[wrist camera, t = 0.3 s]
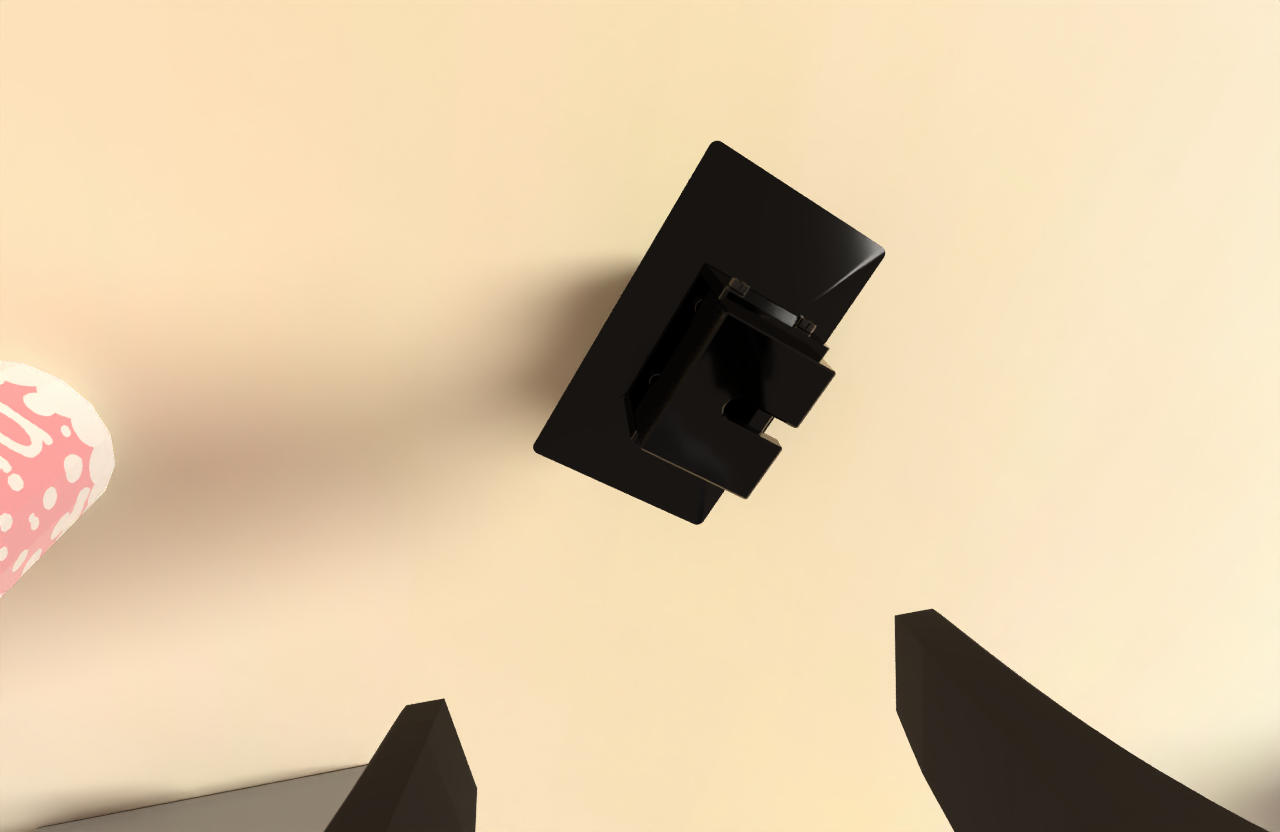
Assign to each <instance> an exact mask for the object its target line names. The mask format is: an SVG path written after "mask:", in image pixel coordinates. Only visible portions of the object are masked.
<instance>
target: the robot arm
mask: <svg viewBox="0 0 1280 832" xmlns="http://www.w3.org/2000/svg"><path fill="white" fill-rule="evenodd" d="M895 662H896V711H897V714H898V716H899V719H900V721H901V724H902V726H903V728H904V731H905V733H906V736H907V738H908V741H909V743H910V746H911V748H912V750H913V753H914V755H915V757H916V759H917V762H918V764H919V766H920V769H921V771H922V773H923V775H924V777H925V779H926V781H927V783H928V785H929V786H930V788H931V790H932V792H933V794H934V796H935V797H936V799H937V801H938V803H939V805H940V806H941V808H942V810H943V812H944V814H945V815H946V817H947V819H948V821H949V823H950V825H951V826H952V828H953V830H954V832H1269V831H1267V830H1265V829H1263V828H1261V827H1259V826H1257V825H1255V824H1253V823H1251V822H1249V821H1247V820H1245V819H1244V818H1242V817H1240V816H1238V815H1236V814H1234V813H1232V812H1231V811H1229V810H1227V809H1225V808H1223V807H1221V806H1220V805H1218V804H1216V803H1214V802H1212V801H1211V800H1209V799H1207V798H1205V797H1204V796H1202V795H1200V794H1198V793H1197V792H1195V791H1193V790H1192V789H1190V788H1188V787H1186V786H1185V785H1183V784H1181V783H1180V782H1178V781H1176V780H1174V779H1173V778H1171V777H1169V776H1167V775H1166V774H1164V773H1162V772H1161V771H1159V770H1157V769H1156V768H1154V767H1152V766H1151V765H1149V764H1147V763H1146V762H1144V761H1143V760H1141V759H1139V758H1138V757H1136V756H1134V755H1133V754H1131V753H1130V752H1128V751H1127V750H1125V749H1124V748H1122V747H1120V746H1119V745H1117V744H1116V743H1114V742H1113V741H1111V740H1110V739H1108V738H1107V737H1105V736H1104V735H1102V734H1101V733H1099V732H1098V731H1096V730H1095V729H1093V728H1092V727H1090V726H1089V725H1087V724H1086V723H1085V722H1083V721H1082V720H1080V719H1079V718H1077V717H1076V716H1074V715H1073V714H1072V713H1070V712H1069V711H1067V710H1066V709H1064V708H1063V707H1062V706H1060V705H1059V704H1058V703H1056V702H1055V701H1053V700H1052V699H1051V698H1049V697H1048V696H1047V695H1045V694H1044V693H1042V692H1041V691H1040V690H1038V689H1037V688H1035V687H1034V686H1033V685H1031V684H1030V683H1029V682H1027V681H1026V680H1025V679H1023V678H1022V677H1021V676H1019V675H1018V674H1017V673H1015V672H1014V671H1013V670H1011V669H1010V668H1009V667H1007V666H1006V665H1005V664H1003V663H1002V662H1001V661H1000V660H998V659H997V658H996V657H994V656H993V655H992V654H990V653H989V652H988V651H987V650H985V649H984V648H983V647H981V646H980V645H979V644H978V643H976V642H975V641H974V640H973V639H971V638H970V637H969V636H967V635H966V634H965V633H964V632H962V631H961V630H960V629H959V628H957V627H956V626H955V625H954V624H952V623H951V622H950V621H948V620H947V619H946V618H945V617H943V616H942V615H941V614H939V613H938V612H937V611H935V610H934V609H928V610H923V611H917V612H912V613H906V614H901V615H895ZM476 801H477V787H476V784H475V782H474V779H473V776H472V773H471V771H470V768H469V765H468V762H467V760H466V757H465V754H464V751H463V749H462V746H461V743H460V740H459V738H458V735H457V732H456V729H455V727H454V724H453V721H452V718H451V716H450V713H449V710H448V707H447V705H446V702H445V699H439V700H433V701H428V702H422V703H417V704H411V705H406V706H405V708H404V709H403V710H402V712H401V713H400V715H399V716H398V718H397V719H396V721H395V722H394V724H393V725H392V727H391V729H390V730H389V732H388V733H387V735H386V737H385V738H384V740H383V741H382V743H381V744H380V746H379V748H378V749H377V751H376V752H375V754H374V756H373V757H372V759H371V760H370V762H369V763H368V765H367V767H366V768H365V770H364V771H363V773H362V774H361V776H360V777H359V779H358V781H357V782H356V784H355V785H354V787H353V788H352V790H351V791H350V793H349V794H348V796H347V797H346V799H345V800H344V802H343V803H342V805H341V806H340V808H339V809H338V811H337V812H336V814H335V815H334V817H333V818H332V820H331V821H330V823H329V824H328V826H327V827H326V829H325V830H324V832H475V825H476Z"/></svg>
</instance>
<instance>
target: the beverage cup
mask: <svg viewBox="0 0 1280 832" xmlns="http://www.w3.org/2000/svg"><path fill="white" fill-rule="evenodd" d="M114 467H115V460H114V454H113V447H112V441H111V435H110V433H109V431H108V430H107V428H106V427H105V425H104V423H103V422H102V420H101V419H100V417H99V416H98V414H97V412H96V411H95V409H94V408H93V406H92V404H90V403H89V402H88V401H87V400H85V399H84V398H83V397H82V396H81V395H79V394H78V393H77V392H76V391H74V390H73V389H72V388H71V387H70V386H68V385H67V384H66V383H65V382H64V381H62V380H61V379H59V378H57V377H55V376H52V375H50V374H47V373H45V372H43V371H40V370H38V369H36V368H33V367H31V366H29V365H26V364H24V363H20V362H10V361H1V360H0V598H1V597H2V596H3V595H4V594H5V593H6V592H7V591H8V589H9V588H10V587H11V586H12V585H13V584H14V583H15V582H16V581H17V580H18V579H19V578H20V577H21V576H22V575H23V574H24V573H25V572H26V571H27V570H28V569H29V568H30V567H31V566H32V565H33V564H34V563H35V562H36V561H37V560H38V559H39V558H40V557H41V556H42V555H43V554H44V553H45V552H46V551H47V550H48V549H49V548H50V547H51V546H52V545H53V544H54V543H55V542H56V541H57V540H58V539H59V538H60V537H61V535H62V534H63V533H64V532H65V531H66V530H67V529H68V528H69V527H70V526H71V525H72V524H73V523H74V522H75V521H76V520H77V519H78V518H79V517H80V516H81V515H82V514H83V513H84V512H85V511H86V510H87V509H88V508H89V507H90V506H91V505H92V504H93V503H94V502H95V501H96V500H97V499H98V498H99V497H100V496H101V495H102V494H103V493H104V492H105V491H106V488H107V486H108V483H109V480H110V478H111V475H112V472H113V469H114Z"/></svg>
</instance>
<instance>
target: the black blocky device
mask: <svg viewBox="0 0 1280 832" xmlns="http://www.w3.org/2000/svg"><path fill="white" fill-rule="evenodd" d="M884 256H885V250H884V248H883V247H882V246H880V245H878V244H877V243H875V242H874V241H872V240H871V239H869V238H868V237H866V236H865V235H863V234H862V233H860V232H859V231H857V230H855V229H854V228H852V227H851V226H849V225H848V224H846V223H845V222H843V221H842V220H840V219H839V218H837V217H836V216H834V215H833V214H831V213H829V212H828V211H826V210H825V209H823V208H822V207H820V206H819V205H817V204H816V203H814V202H813V201H811V200H810V199H808V198H807V197H805V196H803V195H802V194H800V193H799V192H797V191H796V190H794V189H793V188H791V187H790V186H788V185H787V184H785V183H784V182H782V181H781V180H779V179H777V178H776V177H774V176H773V175H771V174H770V173H768V172H767V171H765V170H764V169H762V168H761V167H759V166H758V165H756V164H754V163H753V162H751V161H750V160H748V159H747V158H745V157H744V156H742V155H741V154H739V153H738V152H736V151H735V150H733V149H732V148H730V147H728V146H727V145H725V144H724V143H722V142H721V141H714V142H712V143H711V144H710V145H709V147H708V149H707V151H706V152H705V154H704V156H703V157H702V159H701V161H700V162H699V164H698V166H697V168H696V169H695V171H694V173H693V174H692V176H691V178H690V179H689V181H688V183H687V185H686V186H685V188H684V190H683V191H682V193H681V195H680V197H679V198H678V200H677V202H676V203H675V205H674V207H673V208H672V210H671V212H670V214H669V215H668V217H667V219H666V220H665V222H664V224H663V225H662V227H661V229H660V231H659V232H658V234H657V236H656V237H655V239H654V241H653V242H652V244H651V246H650V248H649V249H648V251H647V253H646V254H645V256H644V258H643V259H642V261H641V263H640V265H639V266H638V268H637V270H636V271H635V273H634V275H633V276H632V278H631V280H630V282H629V283H628V285H627V287H626V288H625V290H624V292H623V294H622V295H621V297H620V299H619V300H618V302H617V304H616V305H615V307H614V309H613V311H612V312H611V314H610V316H609V317H608V319H607V321H606V322H605V324H604V326H603V328H602V329H601V331H600V333H599V334H598V336H597V338H596V339H595V341H594V343H593V345H592V346H591V348H590V350H589V351H588V353H587V355H586V356H585V358H584V360H583V362H582V363H581V365H580V367H579V368H578V370H577V372H576V373H575V375H574V377H573V379H572V380H571V382H570V384H569V385H568V387H567V389H566V391H565V392H564V394H563V396H562V397H561V399H560V401H559V402H558V404H557V406H556V408H555V409H554V411H553V413H552V414H551V416H550V418H549V419H548V421H547V423H546V425H545V426H544V428H543V430H542V431H541V433H540V435H539V436H538V438H537V440H536V442H535V443H534V445H533V449H534V451H535V452H536V453H538V454H540V455H542V456H544V457H547V458H549V459H551V460H553V461H555V462H558V463H560V464H562V465H564V466H567V467H569V468H571V469H573V470H575V471H578V472H580V473H582V474H584V475H586V476H589V477H591V478H593V479H595V480H598V481H600V482H602V483H604V484H606V485H609V486H611V487H613V488H615V489H617V490H620V491H622V492H624V493H626V494H629V495H631V496H633V497H635V498H637V499H640V500H642V501H644V502H646V503H648V504H651V505H653V506H655V507H657V508H660V509H662V510H664V511H666V512H668V513H671V514H673V515H675V516H677V517H679V518H682V519H684V520H686V521H688V522H691V523H693V524H696V525H698V524H701V523H702V522H703V521H704V520H705V518H706V517H707V515H708V514H709V512H710V511H711V510H712V508H713V507H714V505H715V504H716V502H717V501H718V499H719V498H720V496H721V495H722V493H723V492H724V491H725V490H727V491H729V492H731V493H733V494H735V495H737V496H739V497H741V498H743V499H747V498H748V497H749V496H750V494H751V493H752V491H753V490H754V489H755V487H756V486H757V484H758V483H759V482H760V480H761V479H762V477H763V476H764V475H765V473H766V472H767V470H768V469H769V467H770V466H771V465H772V463H773V462H774V460H775V459H776V458H777V456H778V455H779V453H780V452H781V451H782V447H781V446H780V444H779V442H778V440H777V439H775V438H773V437H771V436H769V435H767V434H765V433H764V432H765V431H766V429H767V428H768V426H769V425H770V423H771V422H772V420H773V419H774V417H775V418H777V419H779V420H781V421H783V422H784V423H786V424H788V425H790V426H792V427H794V428H798V427H799V425H800V424H801V422H802V421H803V420H804V418H805V417H806V415H807V414H808V413H809V411H810V410H811V408H812V407H813V406H814V404H815V403H816V401H817V400H818V399H819V397H820V396H821V394H822V393H823V392H824V390H825V389H826V387H827V386H828V384H829V383H830V382H831V380H832V379H833V377H834V376H835V375H836V373H835V371H834V370H833V369H832V368H831V367H830V366H829V365H828V364H827V363H826V362H825V361H824V360H823V357H824V356H825V354H826V353H827V351H828V350H829V349H830V348H829V347H828V346H827V345H826V344H825V343H826V341H827V340H828V338H829V337H830V335H831V334H832V333H833V331H834V330H835V328H836V327H837V325H838V324H839V322H840V321H841V319H842V318H843V316H844V315H845V314H846V312H847V311H848V309H849V308H850V306H851V305H852V303H853V302H854V300H855V299H856V297H857V296H858V295H859V293H860V292H861V290H862V289H863V287H864V286H865V284H866V283H867V281H868V280H869V278H870V277H871V275H872V274H873V273H874V271H875V270H876V268H877V267H878V265H879V264H880V262H881V261H882V259H883V258H884Z"/></svg>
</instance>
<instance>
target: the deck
mask: <svg viewBox="0 0 1280 832" xmlns="http://www.w3.org/2000/svg"><path fill="white" fill-rule="evenodd" d="M366 767H367V765H366V766H361V767H356V768H351V769H345V770H340V771H335V772H330V773H325V774H319V775H314V776H309V777H304V778H298V779H293V780H288V781H283V782H277V783H272V784H267V785H262V786H257V787H251V788H246V789H241V790H236V791H230V792H225V793H220V794H215V795H209V796H204V797H199V798H194V799H189V800H183V801H178V802H173V803H168V804H162V805H157V806H152V807H147V808H141V809H136V810H131V811H126V812H121V813H115V814H110V815H105V816H100V817H94V818H89V819H84V820H79V821H74V822H68V823H63V824H58V825H53V826H47V827H42V828H37V829H36V831H35V832H324V830H325V829H326V827H327V826H328V824H329V823H330V821H331V820H332V818H333V817H334V815H335V814H336V812H337V811H338V809H339V808H340V806H341V805H342V803H343V802H344V800H345V799H346V797H347V796H348V794H349V793H350V791H351V790H352V788H353V787H354V785H355V784H356V782H357V781H358V779H359V777H360V776H361V774H362V773H363V771H364V770H365V768H366Z"/></svg>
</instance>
